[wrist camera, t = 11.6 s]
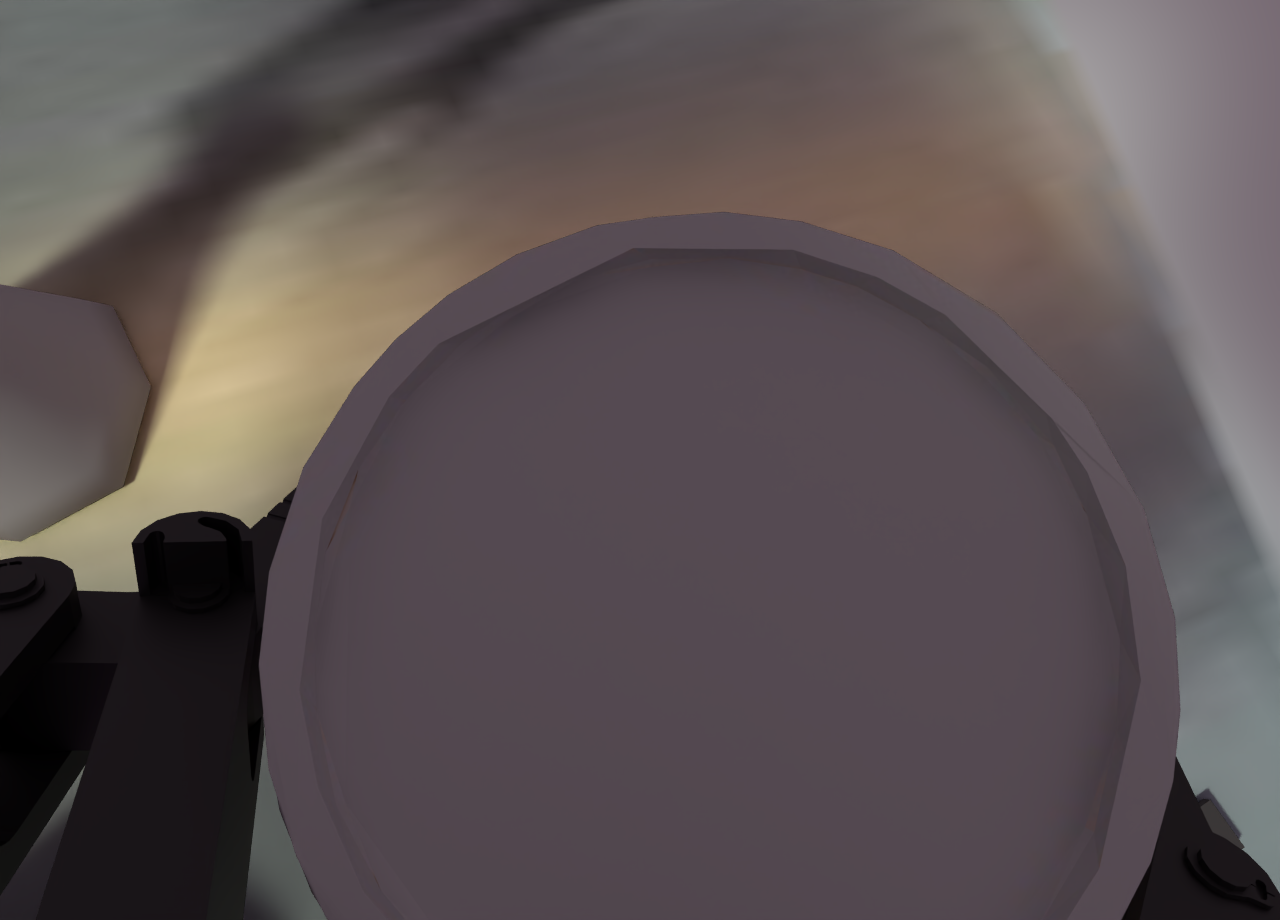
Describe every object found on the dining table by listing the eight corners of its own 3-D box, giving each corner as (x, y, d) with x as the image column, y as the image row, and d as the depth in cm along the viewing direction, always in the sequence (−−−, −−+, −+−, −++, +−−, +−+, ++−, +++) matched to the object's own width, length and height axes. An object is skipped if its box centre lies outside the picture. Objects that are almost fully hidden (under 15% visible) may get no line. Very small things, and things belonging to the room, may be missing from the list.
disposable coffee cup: (860, 472, 21) (1146, 178, 9) (889, 900, 18) (1338, 1235, 7) (474, 467, 21) (277, 165, 9) (444, 895, 18) (114, 1224, 7)
